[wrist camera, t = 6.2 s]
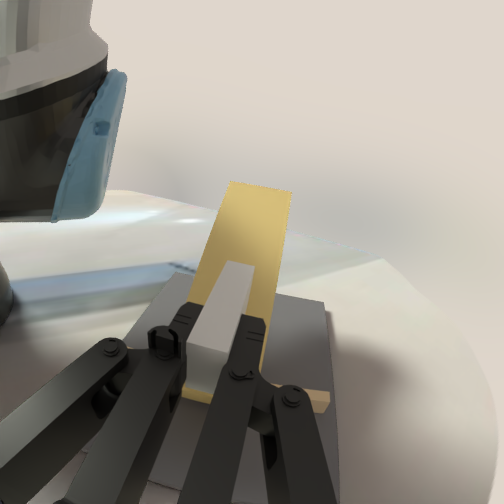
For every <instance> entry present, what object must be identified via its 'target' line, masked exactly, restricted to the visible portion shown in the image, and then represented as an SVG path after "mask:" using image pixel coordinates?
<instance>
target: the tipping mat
mask: <svg viewBox="0 0 504 504" xmlns="http://www.w3.org/2000/svg"><path fill="white" fill-rule="evenodd" d="M194 277H195V276H191V275H186V274H182V273H178V272H175V273H174V274H173V275H172V277H171V278H170V279H169V281H168V282H167V283H166V284H165V286H164V287H163V288H162V289H161V291H160V292H159V293H158V295H157V296H156V297H155V298H154V300H153V301H152V302H151V304H150V305H149V306H148V307H147V309H146V310H145V311H144V313H143V314H142V315H141V317H140V318H139V319H138V321H137V322H136V323H135V325H134V326H133V327H132V329H131V330H130V331H129V333H128V334H127V335H126V337H125V338H124V339H123V342H124V343H125V344H126V346H127V348H130V349H147V348H149V346H148V335H147V332H148V331H149V330H150V329H151V328H154V327H156V326H162V325H165V326H169V324H170V323H171V321H172V320H173V318H174V316H175V315H176V313H177V311H178V310H179V308H180V306H182V305H184V304H185V303H186V301H187V298H188V295H189V292H190V289H191V286H192V283H193V280H194ZM260 374H261V376H262V377H263V378H264V379H265V380H266V381H267V382H269V383H270V384H272V385H274V386H276V387H278V388H279V387H281V386H283V385H296V386H298V387H300V388H302V389H303V390H305V391H306V392H307V393H308V395H309V397H310V400H311V404H312V408H313V411H314V415H315V419H316V423H317V426H318V430H319V434H320V438H321V442H322V445H323V449H324V453H325V457H326V461H327V465H328V469H329V473H330V476H331V480H332V484H333V488H334V492H335V496H336V500H337V504H340V501H339V459H338V438H337V422H336V408H335V396H334V385H333V374H332V364H331V355H330V346H329V338H328V330H327V322H326V314H325V307H324V302H319V301H314V300H308V299H303V298H298V297H292V296H287V295H282V294H277V293H275V298H274V304H273V309H272V315H271V320H270V326H269V331H268V336H267V342H266V347H265V352H264V357H263V362H262V367H261V372H260ZM209 406H210V404H207V403H203V402H199V401H195V400H191V399H188V398H184V397H181V399H180V402H179V404H178V407H177V409H176V412H175V414H174V416H173V419H172V421H171V424H170V426H169V429H168V431H167V434H166V436H165V438H164V441H163V443H162V446H161V448H160V451H159V453H158V456H157V458H156V461H155V463H154V466H153V468H152V471H151V473H150V476H149V478H148V480H150V481H153V482H156V483H159V484H162V485H165V486H168V487H171V488H174V489H178V490H182V487H183V485H184V482H185V479H186V476H187V473H188V470H189V467H190V464H191V461H192V458H193V455H194V452H195V449H196V446H197V443H198V440H199V437H200V434H201V431H202V428H203V424H204V421H205V418H206V415H207V412H208V409H209ZM99 432H100V431H99ZM99 432H98V433H97V434H96V435H95V436H94V437H93V438H92V439H91V440H90V441H89V442H88V443H87V444H86V445H85V446H84V447H83V448H82V449H81V451H83V452H85V453H87V454H88V452H89V450H90V448H91V446H92V445H93V443H94V441H95V439H96V437H97V436H98V434H99ZM231 502H233V503H238V504H268V498H267V490H266V483H265V475H264V467H263V459H262V451H261V443H260V435H259V432H257V431H255V430H253V429H251V428H249V427H247V432H246V437H245V441H244V446H243V450H242V455H241V460H240V464H239V469H238V473H237V478H236V482H235V486H234V491H233V495H232V499H231Z"/></svg>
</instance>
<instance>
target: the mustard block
mask: <svg viewBox="0 0 504 504" xmlns="http://www.w3.org/2000/svg"><path fill="white" fill-rule="evenodd" d="M291 194H292V192H288V191H283V190H278V189H273V188H267V187H262V186H257V185H250V184H245V183H239V182H233V181H230V183H229V186H228V188H227V191H226V194H225V196H224V199H223V201H222V204H221V207H220V209H219V212H218V214H217V217H216V220H215V222H214V225H213V228H212V230H211V233H210V236H209V238H208V241H207V244H206V247H205V249H204V252H203V255H202V258H201V260H200V263H199V266H198V269H197V272H196V275H195V277H194V280H193V283H192V286H191V289H190V292H189V295H188V298H187V301H186V303H187V302H188V301H189V302H193V303H196V304H200V305H205V303H206V301H207V299H208V297H209V295H210V293H211V291H212V289H213V287H214V285H215V283H216V281H217V280H218V278H219V276H220V274H221V272H222V270H223V268H224V266H225V264H226V262H227V260H229V261H233V262H238V263H243V264H247V265H252V266H255V269H254V275H253V280H252V285H251V290H250V295H249V300H248V305H247V309H246V313H245V315H249V316H254V317H258V318H263V319H264V322H265V325H266V331H265V337H264V342H263V348H262V353H261V358H260V364H259V371H260V372H261V367H262V362H263V357H264V352H265V347H266V342H267V336H268V331H269V326H270V320H271V315H272V309H273V304H274V298H275V292H276V287H277V281H278V275H279V269H280V263H281V257H282V251H283V245H284V239H285V233H286V226H287V220H288V214H289V207H290V201H291ZM181 397H184V398H188V399H191V400H195V401H199V402H203V403H207V404H210V403H211V400H212V397H213V394H209V393H206V392H202V391H198V390H195V389H191V388H188V387H185V383H184V385H183V388H182V396H181Z"/></svg>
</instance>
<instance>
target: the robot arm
mask: <svg viewBox="0 0 504 504" xmlns="http://www.w3.org/2000/svg"><path fill="white" fill-rule="evenodd" d="M92 2H93V0H0V222H51V223H56V222H58V221H60V220H71V219H83V218H87V217H89V216H90V215H92V214H94V213H95V212H96V211H97V210H98V209H99V208H100V206H101V204H102V202H103V199H104V196H105V191H106V187H107V182H108V177H109V172H110V167H111V162H112V156H113V152H114V147H115V142H116V137H117V132H118V127H119V122H120V117H121V112H122V108H123V102H124V97H125V92H126V82H127V76H126V74H125V73H124V72H119V71H118V70H117V69H112V70H110V72H108V71H107V56H108V44H107V43H106V42H105V41H103V40H102V39H101V38H100V37H99V36H98V35H97V34H96V33H95V32H94V31H93V30H92V29H91V27H90V24H89V23H90V15H91V8H92ZM254 269H255V266H252V265H247V264H243V263H238V262H233V261H229V260H227V262H226V264H225V266H224V268H223V270H222V272H221V274H220V276H219V278H218V280H217V281H216V283H215V285H214V287H213V289H212V291H211V293H210V295H209V297H208V299H207V301H206V303H205V305H200V304H196V303H193V302H189V301H188V302H187V303H185V304H184V305H182V306H180V308H179V310H178V311H177V313H176V315H175V316H174V318H173V320H172V321H171V323H170V324H169V326H165V325H162V326H156V327H154V328H151V329H150V330H149V331H148V332H147V335H148V346H149V348H147V349H130V348H127V346H126V344H125V343H124V342H123V341H122V340H120V339H117V338H105V339H103V340H101V341H99V342H98V343H97V344H95V345H94V346H93V347H91V348H90V349H89V350H88V351H86V352H85V353H84V354H83V355H81V356H80V357H79V358H78V359H76V360H75V361H74V362H73V363H71V364H70V365H69V366H68V367H66V368H65V369H64V370H63V371H61V372H60V373H59V374H58V375H56V376H55V377H54V378H53V379H52V380H50V381H49V382H48V383H47V384H45V385H44V386H43V387H42V388H40V389H39V390H38V391H37V392H36V393H34V394H33V395H32V396H31V397H30V398H28V399H27V400H26V401H25V402H24V403H22V404H21V405H20V406H19V407H18V408H16V409H15V410H14V411H13V412H12V413H10V414H9V415H8V416H7V417H6V418H4V419H3V420H2V421H1V422H0V504H26V503H27V502H28V501H30V500H31V499H32V498H33V497H34V496H35V495H36V494H37V493H38V492H39V491H40V490H41V489H42V488H43V487H44V486H45V485H46V484H47V483H48V482H49V481H50V480H51V479H52V478H53V477H54V476H55V475H56V474H57V473H58V472H59V471H60V470H61V469H62V468H63V467H64V466H65V465H66V464H67V463H68V462H69V461H70V460H71V459H72V458H73V457H74V456H75V455H76V454H77V453H78V452H79V451H80V450H81V449H82V448H83V447H84V446H85V445H86V444H87V443H88V442H89V441H90V440H91V439H92V438H93V437H94V436H95V435H96V434H97V433H98V432H99V431H100V432H99V434H98V436H97V437H96V439H95V441H94V443H93V445H92V446H91V448H90V450H89V452H88V454H87V456H86V457H85V459H84V461H83V463H82V465H81V467H80V469H79V471H78V472H77V474H76V476H75V478H74V480H73V482H72V484H71V486H70V488H69V490H68V492H67V494H66V495H65V497H64V498H63V499H61V500H59V501H56V502H54V503H53V504H138V503H139V501H140V498H141V496H142V493H143V491H144V488H145V486H146V483H147V481H148V478H149V476H150V473H151V471H152V468H153V466H154V463H155V461H156V458H157V456H158V453H159V451H160V448H161V446H162V443H163V441H164V438H165V436H166V434H167V431H168V429H169V426H170V424H171V421H172V419H173V416H174V414H175V412H176V409H177V407H178V404H179V402H180V399H181V396H182V388H183V385H184V383H185V387H188V388H191V389H195V390H198V391H202V392H206V393H209V394H213V397H212V400H211V403H210V406H209V409H208V412H207V415H206V418H205V421H204V424H203V428H202V431H201V434H200V437H199V440H198V443H197V446H196V449H195V452H194V455H193V458H192V461H191V464H190V467H189V470H188V473H187V476H186V479H185V482H184V485H183V487H182V490H181V493H180V496H179V499H178V502H177V504H230V503H231V499H232V495H233V491H234V486H235V482H236V478H237V473H238V469H239V464H240V460H241V455H242V450H243V446H244V441H245V437H246V432H247V427H249V428H251V429H253V430H255V431H257V432H259V435H260V443H261V451H262V459H263V467H264V475H265V483H266V490H267V498H268V504H337V500H336V496H335V492H334V488H333V484H332V480H331V476H330V473H329V469H328V465H327V461H326V457H325V453H324V449H323V445H322V442H321V438H320V434H319V430H318V426H317V423H316V419H315V415H314V411H313V408H312V404H311V400H310V397H309V395H308V393H307V392H306V391H305V390H303V389H302V388H300V387H298V386H296V385H283V386H281V387H279V388H278V387H276V386H274V385H272V384H270V383H269V382H267V381H266V380H265V379H264V378H263V377H262V376H261V374H260V371H259V364H260V358H261V353H262V348H263V342H264V337H265V331H266V325H265V322H264V319H263V318H258V317H254V316H249V315H245V313H246V309H247V305H248V300H249V295H250V290H251V285H252V280H253V275H254ZM12 304H13V294H12V290H11V286H10V283H9V279H8V276H7V274H6V272H5V270H4V268H3V266H2V265H1V263H0V327H1V326H2V324H3V323H4V322H5V320H6V319H7V317H8V315H9V313H10V311H11V308H12Z"/></svg>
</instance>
